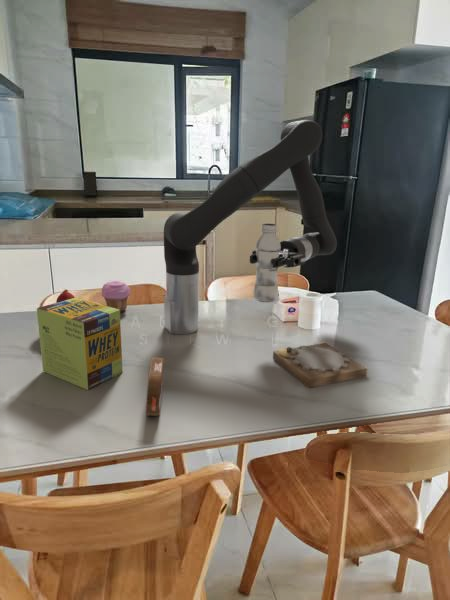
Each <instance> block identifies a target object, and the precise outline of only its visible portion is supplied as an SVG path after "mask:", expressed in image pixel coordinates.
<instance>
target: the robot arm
mask: <svg viewBox="0 0 450 600" xmlns="http://www.w3.org/2000/svg"><path fill="white" fill-rule="evenodd" d="M323 135H324V134H323V130H322V127H321V126H320V124H318V122H316V121H313V120H309V119H302V120H296V121H292V122H289V123H287V124H286V125H285V126H284V127H283V129H282V130H281V133H280V140H279V142H277V144H275V145H274V146H273V147H271V148H269V149H268V150H265V151H263V152H262V153H259V154H257V155H255V156H253V157H251V158H249V159H247V160H246V161H244V162H242V163H241V164H240V165H239V166H237V167H236V168H235V169H233V170H232V171H231V172H230V173H228V174H227V175H226V176H225V177H224V178H223V179H222V180H221V181H220V182H219V183H218V184H217V186H216V187H215V188H214V190H213V191H212V192H211V193H210V194H209V196H208V198H207V199H205V200H204V201H202V203H200V204H199V205H198V206H196V207H195V208H193V209H192V210H190V211H189V212H186V213H184V212H175V213H173V214H172V215H169V217H168V218H167V219H166V220H165V223H164V224H163V225H164V226H163V254H164V255H163V256H164V262H165V271H166V272H165V281H166V282H165V283H166V284H165V285H166V286H165V289H166V291H165V292H166V293H165V295H164V297H163V299H164V304H163V307H164V312H163V313H164V319H163V320H164V328H165V329H166V331H167V332H168V333H169V334H172V335H173V334H178V335H187V334H193V333H196V332H197V331H198V330H199V301H200V300H199V299H200V298H199V297H200V295H199V293H200V291H199V289H200V288H199V285H200V283H199V282H200V262H199V259H198V255H197V246H198V245H199V244H200V243H202V242H203V240H205V239H206V237H207V236H208V235H210V233H212V231H213V230H215V228H217V226H219V225H220V224H221V223H222V222H223V221H225V220H226V219H227V218H229V217H230V216H232V215H233V214H235V213H236V212H237V211H239V210H240V209H241V208H242V207H243V206H246V204H247V203H249V202H250V201H252V200H253V199H254V198H255V197H257V196H258V195H259V194H261V193H262V191H264V190H265V189H266V188H267V187H269V186H270V185H271V184H273V183H274V182H275V181H276V180H277V179H278V178H279V177H280V176H281V175H283V174H284V173H285V172H286V171H288V170H290V173H291V176H292V180H293V183H294V186H295V190H296V194H297V197H298V203H299V209H300V213H301V214H300V215H301V219H302V224H303V225H304V226H305V227H306V228H307V227H308V228H312V229H314V230H317V232H308V233H304V234H303V235H301V236H298V237H292V238H289V239H288V238H287V239H284V240H281V241H280V244H281V250H280V255H279V258H276V259H274V260H273V268H277V269H278V268H280V267H283V268H286V269H287V268H296V267H300V266H303V265H305V264H306V261H309V260H312V259H313V258H315V257H317V256H329V255H332V254H334V252H335V251H336V250H337V245H338V243H337V242H338V241H337V237H336V235H335V231H333V230H334V229H332V227H331V224H330V222H329V219H328V217H327V213H326V209H325V208H326V207H325V202H324V201H325V200H324V197H323V194H322V191H321V189H320V186H319V184H318V182H317V180H316V177H315V175H314V173H313V171H312V168H311V164H310V160H309V156H311V155H312V154H313V153H315V152H316V151H317V150H318V149H319V147H320V145H321V144H322V140H323ZM249 262H250V265H251V264H253V265H254V264H257V257H256V248H255V249H253V250H252V254H250V255H249Z"/></svg>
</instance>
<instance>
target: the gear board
mask: <svg viewBox="0 0 450 600" xmlns="http://www.w3.org/2000/svg"><path fill="white" fill-rule="evenodd" d="M272 352H273V353H272V354H273V355H272V359H273V360H274V361H275V362H277V364H279V365H280V366H281V367H283V368H284V369H285V370H286V371H287V372H289V373H290V374H291V375H292V376H294V377H295V378H296V379H298V380H299V381H300V382H301V383H303V384H304V386H306V387H307V388H308V389H311V388H315V387H321V386H326V385H330V384H334V383H339V382H345V381H348V380H349V381H350V380H353V379H358V378H363V377H367V373H368V368H367V367H365V366H364V365H362V364H360V363H359V362H357V360H355V359H353V358H351V357H350V356H349V355H347V354H345V353H344V352H343V351H340V350H338V349H336V348H335V347H334V346H332V345H331V344H328V343H327V342H323V343H316V344H310V345H309V344H308V345H300V346H298V347H291V346H290V347H289V346H288V347H282V348H280V349H279V350H273V351H272Z"/></svg>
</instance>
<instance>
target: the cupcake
mask: <svg viewBox="0 0 450 600" xmlns="http://www.w3.org/2000/svg"><path fill="white" fill-rule="evenodd" d="M130 295H131V289H130V287H129V286H128V285H127V284H126V283H125V282H124V281H121V280H114V281H113V280H112V281H111V280H110V281H107V282H105V283H104V284H103V286H102V288H101V296H102V298H104V301H105V304H106V306H108V307H112V308H116V309H119V310H120V313H121V312H124V311H125V310H126V309H127V306H128V297H129V296H130Z"/></svg>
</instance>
